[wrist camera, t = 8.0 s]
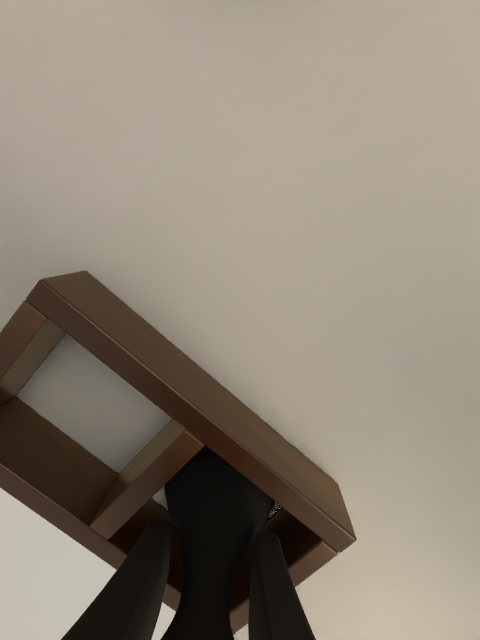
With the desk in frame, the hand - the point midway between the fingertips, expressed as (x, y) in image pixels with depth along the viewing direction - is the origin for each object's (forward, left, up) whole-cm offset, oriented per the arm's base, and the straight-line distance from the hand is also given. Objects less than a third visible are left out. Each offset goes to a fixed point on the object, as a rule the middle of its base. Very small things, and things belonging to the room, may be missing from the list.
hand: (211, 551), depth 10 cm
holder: (+2, +2, -3) cm, 4 cm away
